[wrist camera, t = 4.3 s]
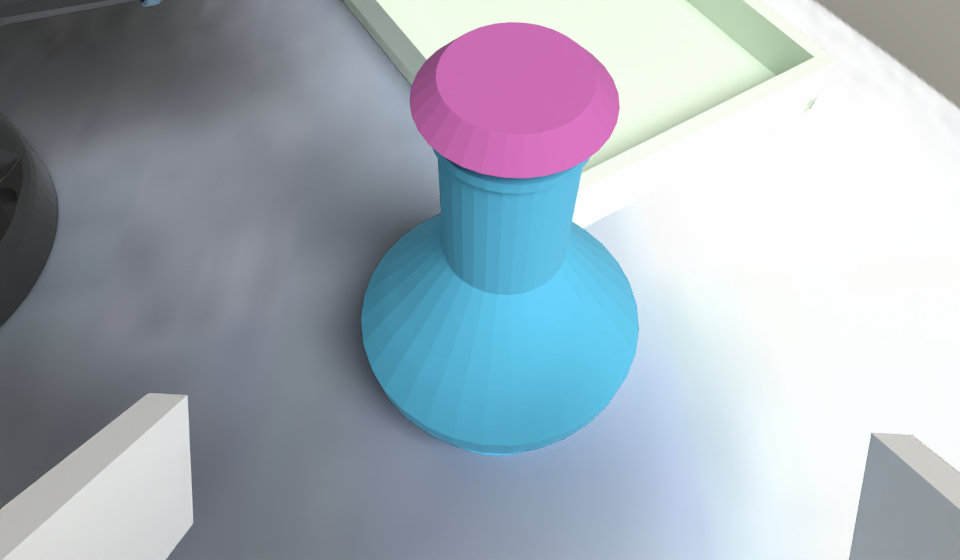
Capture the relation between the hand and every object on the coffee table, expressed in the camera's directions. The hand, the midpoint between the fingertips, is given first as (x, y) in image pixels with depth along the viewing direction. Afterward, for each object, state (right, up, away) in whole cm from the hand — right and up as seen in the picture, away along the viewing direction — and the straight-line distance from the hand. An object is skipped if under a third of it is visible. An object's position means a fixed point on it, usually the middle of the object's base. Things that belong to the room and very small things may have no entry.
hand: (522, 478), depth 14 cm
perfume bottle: (0, 0, +14) cm, 14 cm away
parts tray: (+3, +16, +24) cm, 29 cm away
